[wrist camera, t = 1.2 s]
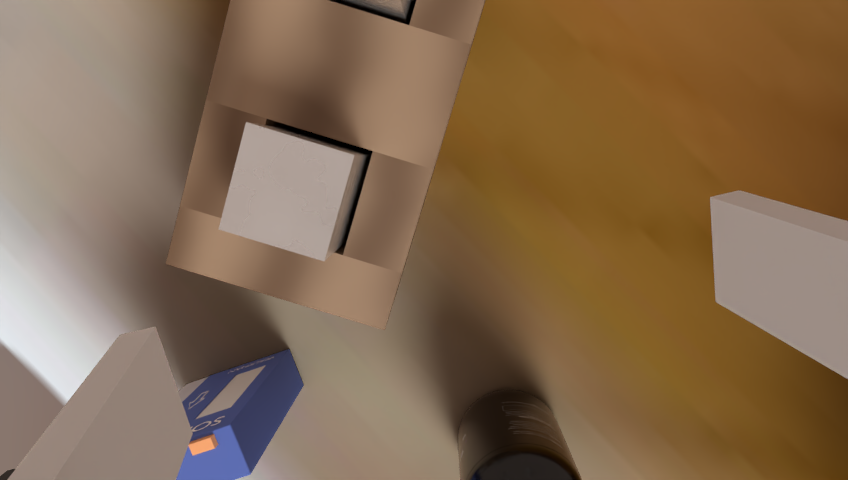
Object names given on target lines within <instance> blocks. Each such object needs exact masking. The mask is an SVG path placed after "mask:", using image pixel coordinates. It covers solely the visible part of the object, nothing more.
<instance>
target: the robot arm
mask: <svg viewBox="0 0 848 480" xmlns="http://www.w3.org/2000/svg"><path fill="white" fill-rule="evenodd" d="M710 205H711V224H712V242H713V261H714V280H715V298H716V302H717V303H718V304H720V305H722V306H724V307H725V308H727V309H729V310H730V311H732V312H734V313H736V314H737V315H739V316H741V317H742V318H744V319H746V320H748V321H749V322H751V323H753V324H754V325H756V326H758V327H759V328H761V329H763V330H765V331H766V332H768V333H770V334H771V335H773V336H775V337H777V338H778V339H780V340H782V341H783V342H785V343H787V344H789V345H790V346H792V347H794V348H795V349H797V350H799V351H800V352H802V353H804V354H806V355H807V356H809V357H811V358H812V359H814V360H816V361H818V362H819V363H821V364H823V365H824V366H826V367H828V368H830V369H831V370H833V371H835V372H836V373H838V374H840V375H841V376H843V377H845V378H847V379H848V221H846V220H842V219H839V218H835V217H832V216H828V215H824V214H821V213H817V212H814V211H810V210H807V209H803V208H800V207H796V206H793V205H789V204H786V203H782V202H779V201H775V200H772V199H768V198H765V197H761V196H757V195H754V194H750V193H747V192H743V191H740V190H739V191H735V192H730V193H726V194H722V195H717V196H713V197H710ZM192 434H193V432H192V430H191V427H190V424H189V421H188V418H187V415H186V412H185V409H184V407H183V404H182V401H181V398H180V395H179V392H178V389H177V386H176V384H175V381H174V378H173V375H172V372H171V369H170V366H169V363H168V360H167V358H166V355H165V352H164V349H163V346H162V343H161V340H160V337H159V335H158V332H157V329H156V326H155V327H151V328H147V329H142V330H138V331H134V332H129V333H125V334H121V335H119V337H118V338H117V339H116V340H115V342H114V343H113V344H112V346H111V347H110V348H109V349H108V351H107V352H106V353H105V355H104V356H103V357H102V358H101V360H100V361H99V362H98V364H97V365H96V366H95V367H94V369H93V370H92V371H91V373H90V374H89V375H88V376H87V378H86V379H85V380H84V382H83V383H82V384H81V385H80V387H79V388H78V389H77V391H76V392H75V393H74V394H73V396H72V397H71V398H70V400H69V401H68V402H67V403H66V405H65V406H64V407H63V409H62V410H61V411H60V413H59V414H58V415H57V417H56V418H55V419H54V420H53V422H52V423H51V424H50V425H49V427H48V428H47V429H46V430H45V432H44V433H43V434H42V436H41V437H40V438H39V439H38V441H37V442H36V443H35V445H34V446H33V447H32V449H31V450H30V451H29V452H28V454H27V455H26V456H25V458H24V459H23V460H22V461H21V463H20V464H19V465H18V467H17V468H16V469H12V470H8V471H6V472H5V473H4V474H3V475H1V476H0V480H176V478H177V475H178V473H179V470H180V467H181V464H182V462H183V459H184V456H185V453H186V451H187V448H188V445H189V442H190V440H191V437H192Z"/></svg>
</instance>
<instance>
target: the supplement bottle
mask: <svg viewBox="0 0 848 480" xmlns="http://www.w3.org/2000/svg"><path fill="white" fill-rule="evenodd" d="M458 452H459V468H460V480H582V479H581V476H580V474H579V472H578V469H577V467H576V465H575V462H574V460H573V458H572V455H571V453H570V451H569V448H568V446H567V443H566V441H565V439H564V436H563V434H562V432H561V429H560V427H559V425H558V423H557V421H556V419H555V417H554V415H553V413H552V412H551V410H550V409H549V408H548V407H547V406H546V405H545V404H544V403H543V402H542V401H541V400H539V399H538V398H536V397H535V396H533V395H531V394H529V393H526V392H523V391H518V390H500V391H495V392H492V393H489V394H487V395H485V396H483V397H481V398H480V399H478V400H477V401H476V402H475V403H473V404H472V405H471V406H470V408H469V409H468V410H467V412H466V413H465V415H464V417H463V419H462V421H461V424H460V427H459V433H458Z"/></svg>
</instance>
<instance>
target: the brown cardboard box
mask: <svg viewBox="0 0 848 480" xmlns="http://www.w3.org/2000/svg"><path fill="white" fill-rule="evenodd" d="M484 3H485V0H416V3H415V7H414V10H413V14H412V17H411V21H410V24H409V25H407V24H403V23H400V22H397V21H394V20H391V19H387V18H384V17H381V16H378V15H374V14H371V13H368V12H365V11H361V10H358V9H355V8H352V7H349V6H345V5H342V4H339V3H336V2H332V1H329V0H230V4H229V8H228V12H227V16H226V20H225V24H224V28H223V32H222V36H221V40H220V45H219V49H218V53H217V57H216V61H215V65H214V69H213V73H212V77H211V81H210V85H209V89H208V93H207V98H206V102H205V106H204V110H203V114H202V118H201V122H200V126H199V130H198V134H197V138H196V142H195V146H194V150H193V155H192V159H191V163H190V167H189V171H188V175H187V179H186V183H185V187H184V191H183V195H182V199H181V203H180V207H179V212H178V216H177V220H176V224H175V228H174V232H173V236H172V240H171V244H170V248H169V252H168V256H167V260H166V264H167V265H171V266H174V267H177V268H181V269H184V270H187V271H190V272H194V273H197V274H200V275H204V276H207V277H210V278H214V279H217V280H220V281H224V282H227V283H230V284H233V285H237V286H240V287H243V288H247V289H250V290H253V291H257V292H260V293H263V294H267V295H270V296H273V297H276V298H280V299H283V300H286V301H290V302H293V303H296V304H300V305H303V306H306V307H310V308H313V309H316V310H319V311H323V312H326V313H329V314H333V315H336V316H339V317H343V318H346V319H349V320H353V321H356V322H359V323H363V324H366V325H369V326H372V327H376V328H379V329H382V330H385V327H386V324H387V321H388V318H389V315H390V312H391V308H392V305H393V302H394V299H395V296H396V293H397V290H398V286H399V283H400V280H401V276H402V273H403V270H404V266H405V263H406V260H407V257H408V253H409V250H410V247H411V243H412V240H413V237H414V234H415V230H416V227H417V224H418V220H419V217H420V214H421V211H422V207H423V204H424V201H425V197H426V194H427V191H428V188H429V184H430V181H431V178H432V174H433V171H434V168H435V165H436V161H437V158H438V155H439V151H440V148H441V145H442V142H443V138H444V135H445V132H446V128H447V125H448V122H449V119H450V115H451V112H452V109H453V105H454V102H455V99H456V95H457V92H458V89H459V86H460V82H461V79H462V76H463V72H464V69H465V66H466V63H467V59H468V56H469V53H470V49H471V46H472V43H473V40H474V36H475V33H476V30H477V26H478V23H479V20H480V17H481V13H482V10H483V7H484ZM246 122H250V123H256V124H262V125H268V126H274V127H280V128H286V129H289V130H292V131H296V132H299V133H301V129H303V130H306V131H309V132H312V133H316V134H319V135H322V136H325V137H329V138H332V139H335V140H338V141H342V142H345V143H348V144H351V145H355V146H358V147H361V148H365V149H368V150H371V151H373V153H372V156H371V159H370V163H369V166H368V170H367V173H366V177H365V180H364V184H363V187H362V191H361V194H360V198H359V201H358V205H357V208H356V211H355V215H354V218H353V222H352V225H351V229H350V232H349V236H348V239H347V241H346V242H345V243H344V244H343V245H342V246H341V247H340V248H339V249H337V250H336V251H335V252H334V253H333V254H332V255H331V256H330V257H329V258H328V259H327V260H325V261H321V260H318V259H314V258H311V257H308V256H304V255H301V254H298V253H295V252H291V251H288V250H285V249H281V248H278V247H275V246H272V245H268V244H265V243H262V242H258V241H255V240H252V239H248V238H245V237H242V236H239V235H235V234H232V233H229V232H225V231H222V230H219V225H220V221H221V218H222V214H223V210H224V206H225V202H226V198H227V194H228V190H229V186H230V182H231V179H232V175H233V171H234V167H235V163H236V159H237V155H238V151H239V147H240V143H241V140H242V136H243V132H244V128H245V124H246Z"/></svg>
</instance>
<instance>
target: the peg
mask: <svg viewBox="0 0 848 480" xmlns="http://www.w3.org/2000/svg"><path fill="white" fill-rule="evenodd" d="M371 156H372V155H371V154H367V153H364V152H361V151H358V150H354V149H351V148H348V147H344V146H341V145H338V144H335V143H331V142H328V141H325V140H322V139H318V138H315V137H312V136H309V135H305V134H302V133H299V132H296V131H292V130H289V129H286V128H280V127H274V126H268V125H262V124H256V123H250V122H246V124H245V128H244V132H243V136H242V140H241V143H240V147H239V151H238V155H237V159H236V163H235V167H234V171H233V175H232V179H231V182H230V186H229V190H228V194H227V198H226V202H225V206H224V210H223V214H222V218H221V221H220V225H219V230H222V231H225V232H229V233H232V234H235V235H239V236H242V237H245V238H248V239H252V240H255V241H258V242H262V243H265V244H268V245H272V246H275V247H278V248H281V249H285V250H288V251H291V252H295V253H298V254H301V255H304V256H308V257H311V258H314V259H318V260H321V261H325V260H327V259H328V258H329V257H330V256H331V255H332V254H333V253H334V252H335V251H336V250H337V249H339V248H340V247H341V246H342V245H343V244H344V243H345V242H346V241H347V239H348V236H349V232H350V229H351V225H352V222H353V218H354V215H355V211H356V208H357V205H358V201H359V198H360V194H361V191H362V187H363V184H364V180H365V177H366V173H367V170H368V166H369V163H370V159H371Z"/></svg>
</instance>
